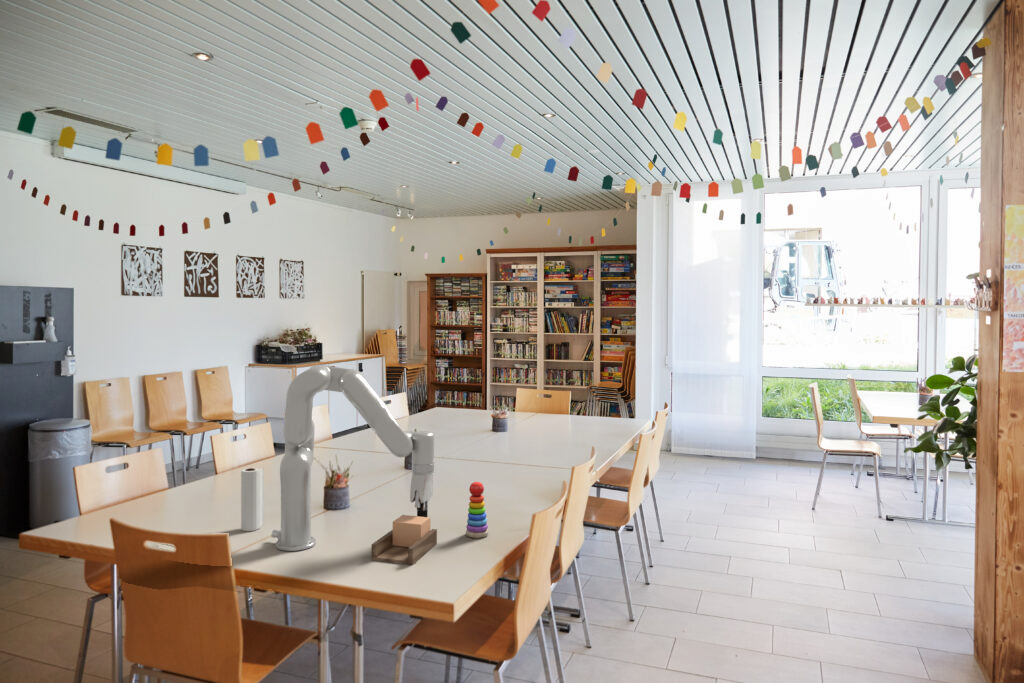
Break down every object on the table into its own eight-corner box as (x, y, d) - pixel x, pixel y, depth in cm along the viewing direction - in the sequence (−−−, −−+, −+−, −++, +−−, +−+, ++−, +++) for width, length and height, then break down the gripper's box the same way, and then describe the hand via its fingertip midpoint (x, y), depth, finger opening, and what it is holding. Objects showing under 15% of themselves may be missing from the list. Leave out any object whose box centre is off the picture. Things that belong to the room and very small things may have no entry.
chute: (371, 560, 213) (371, 544, 213) (398, 539, 232) (398, 525, 232) (412, 565, 209) (413, 548, 209) (436, 544, 228) (436, 529, 228)
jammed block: (392, 545, 223) (392, 521, 223) (402, 537, 231) (402, 514, 230) (420, 548, 220) (421, 524, 220) (430, 540, 228) (430, 517, 228)
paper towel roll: (240, 532, 237) (240, 471, 237) (242, 527, 243) (242, 467, 242) (262, 530, 239) (262, 470, 239) (263, 525, 245) (263, 466, 244)
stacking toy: (488, 531, 243) (489, 479, 242) (488, 538, 235) (489, 485, 234) (466, 531, 242) (466, 479, 242) (465, 538, 234) (466, 484, 234)
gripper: (421, 462, 241) (420, 513, 242) (403, 472, 227) (403, 526, 228) (440, 464, 240) (440, 515, 240) (424, 473, 225) (424, 528, 226)
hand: (422, 520), depth 234 cm, fingers closed
